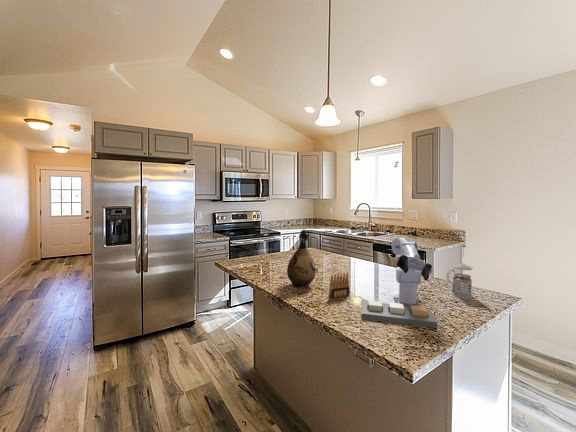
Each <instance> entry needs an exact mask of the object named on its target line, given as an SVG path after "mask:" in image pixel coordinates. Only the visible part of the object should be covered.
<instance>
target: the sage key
mask: <svg viewBox="0 0 576 432" xmlns="http://www.w3.org/2000/svg"><path fill="white" fill-rule="evenodd" d="M368 301H369V310H371V311H379V312H382V303H383V302H382V301H380V300H379V301H378V300H368Z"/></svg>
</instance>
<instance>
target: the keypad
mask: <svg viewBox="0 0 576 432" xmlns="http://www.w3.org/2000/svg"><path fill="white" fill-rule="evenodd" d="M369 301H370V300H363V301H362V307H361V314H360V315H361V319H363V320H370V321H377V322H378V321H379V322H385V323H387V322H388V323H393V324H394V323H395V324H402V325H408V326H409V325H410V326H418V327H425V328H434V329H437V328H438V320H436V317H435V315H434V313H433V312H432V310H431V308H430V307H426V310H427V317H423V316H414V315H412V314H411V305H407V304H403V306H404V314H397V313H390V311H389V304H390V303H387V302H382V312H379V311H371V310H369Z"/></svg>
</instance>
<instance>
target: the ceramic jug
mask: <svg viewBox="0 0 576 432" xmlns="http://www.w3.org/2000/svg"><path fill="white" fill-rule="evenodd" d="M298 238H299V241H300V242H299V245H298V247H297V249H296V250H295V252H294V253H293V254H292V256H291V257H290V259H289V261H288V265H287V267H286V268H287V269H286V270H287V271H286V274H287V278H288V279H289V281H290V283H291V287H292V286H293V287H292V288H296V289H306V288H308V287H309V286H310V284H311V282H313V281H314V279H316V278H315V277H316V274H317V270H316V264H315V261H314V258H313V256H312V255H311V253H310V252H309V250H308V247H307V245H306V244H307V243H306V242H308V239H309V235H308V234H307V230H306V229H302V230H301V231H300V233H299V234H298Z"/></svg>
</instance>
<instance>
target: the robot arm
mask: <svg viewBox="0 0 576 432" xmlns="http://www.w3.org/2000/svg"><path fill="white" fill-rule="evenodd" d="M391 250H392V254H395V257H394V261H395V262H396V270H395V277H396V278H395V279H396V280H395V281H396V282H397V284H399V285H398V287H399V288H398V297H396V299H397V300H398V301H399V303H400V304H403V305H408V306H411V305H416V304H417V299H418V298H417V297H418V296H417V294H418V293H417V292H418V291H417V290H418V286H419V285H420V284H421V283H422V277H423V280H424V281H425V282H427V281H428V280H429V278H430V274H432V273H433V271H434V268H433V266H432V264H430V263H428V262H425V261H423V259H422V258H421V256H420V255H419V253H418V243H417V241H413V239H412V238H411V237H392V238H391Z"/></svg>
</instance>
